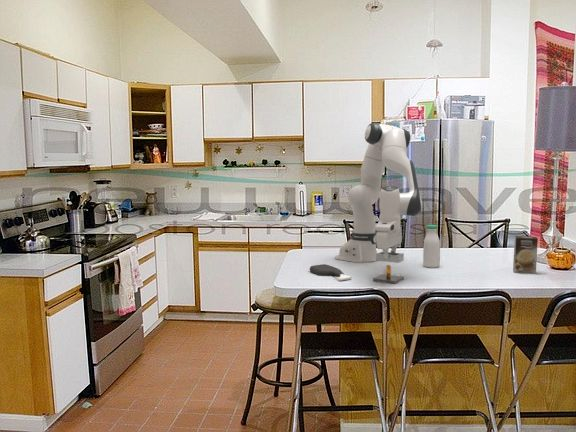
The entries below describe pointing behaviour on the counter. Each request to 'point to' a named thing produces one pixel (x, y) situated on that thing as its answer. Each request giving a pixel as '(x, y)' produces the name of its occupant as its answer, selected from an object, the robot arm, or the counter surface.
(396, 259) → the grey open tray
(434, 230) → the milk bottle
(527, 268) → the coffee box
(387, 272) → the keeper
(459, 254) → the counter surface
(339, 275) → the drumstick
